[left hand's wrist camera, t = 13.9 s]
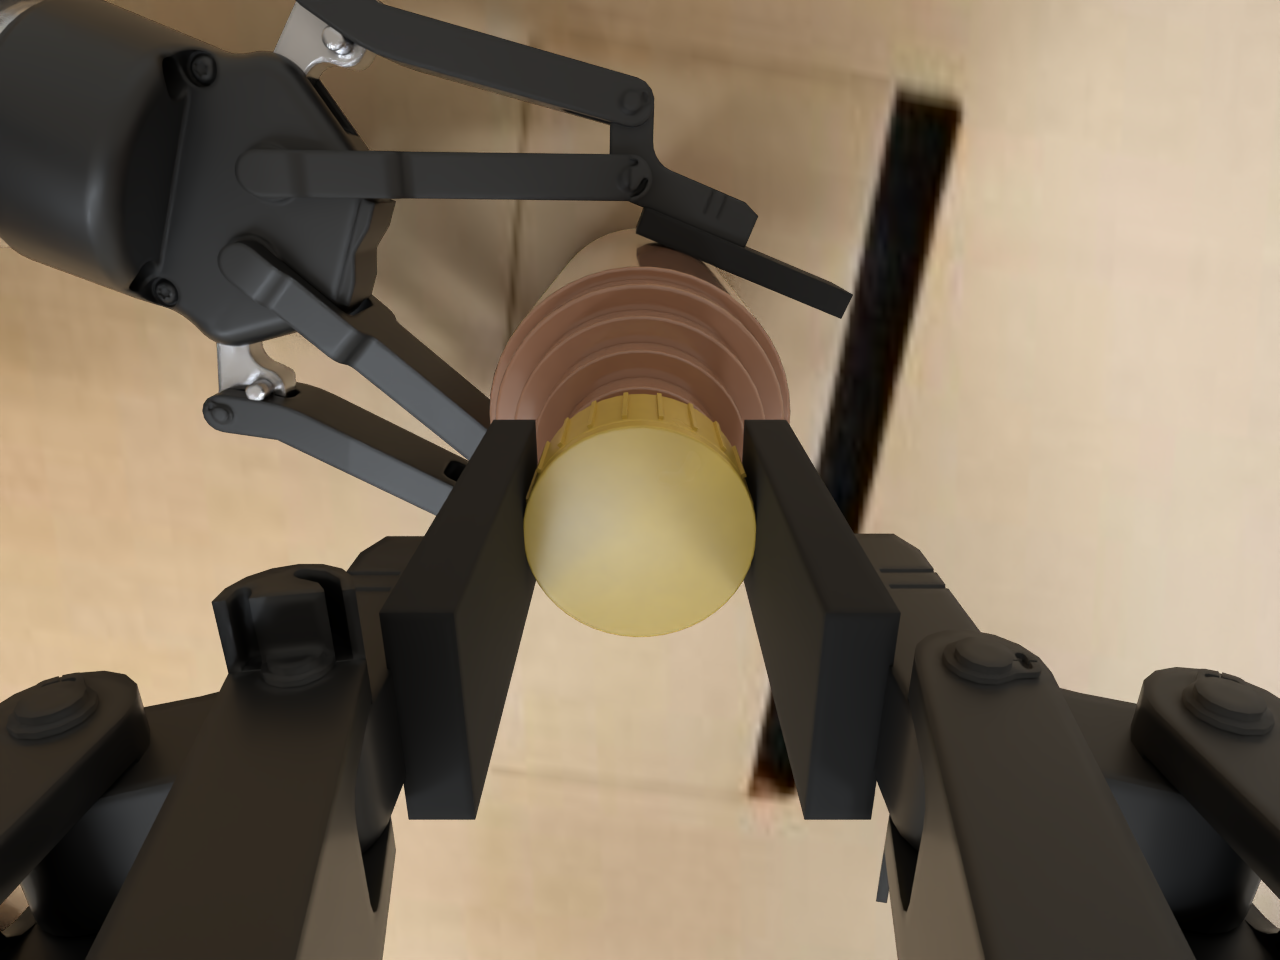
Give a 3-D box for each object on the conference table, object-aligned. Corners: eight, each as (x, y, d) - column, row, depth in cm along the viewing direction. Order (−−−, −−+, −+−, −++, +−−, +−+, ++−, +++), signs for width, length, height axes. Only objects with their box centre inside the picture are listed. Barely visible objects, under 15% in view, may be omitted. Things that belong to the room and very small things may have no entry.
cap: (790, 480, 14) (811, 524, 12) (651, 621, 15) (653, 680, 13) (626, 344, 13) (624, 370, 11) (492, 505, 14) (471, 551, 12)
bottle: (601, 439, 32) (555, 752, 15) (515, 281, 29) (340, 433, 12) (759, 364, 31) (912, 608, 13) (683, 193, 28) (751, 225, 11)
